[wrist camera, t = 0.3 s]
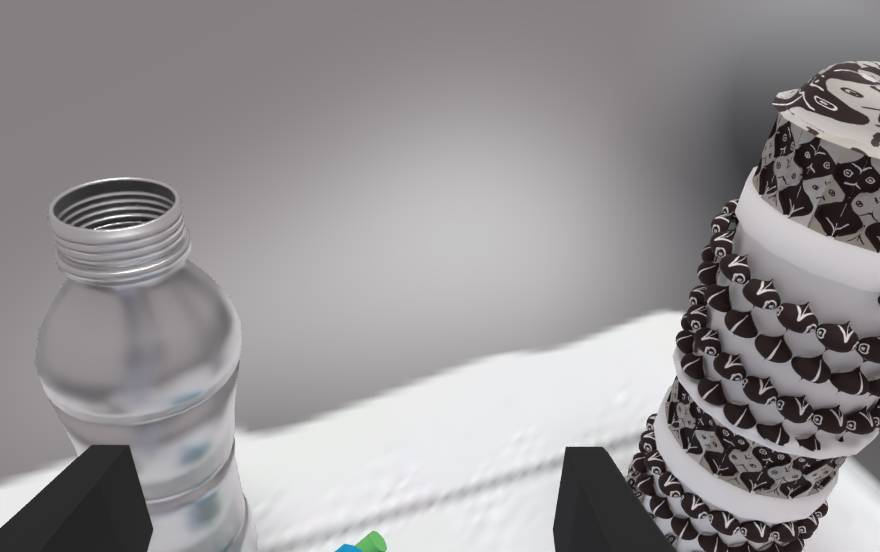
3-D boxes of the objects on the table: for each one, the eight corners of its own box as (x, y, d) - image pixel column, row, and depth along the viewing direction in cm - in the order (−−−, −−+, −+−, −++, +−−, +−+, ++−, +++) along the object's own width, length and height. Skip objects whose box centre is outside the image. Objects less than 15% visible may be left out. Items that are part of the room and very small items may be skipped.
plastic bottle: (86, 574, 31) (-40, 184, 20) (224, 503, 35) (181, 144, 24) (137, 692, 27) (16, 287, 16) (286, 597, 31) (269, 220, 20)
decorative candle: (775, 510, 38) (1029, 73, 25) (788, 664, 31) (1160, 163, 17) (616, 457, 41) (767, 29, 27) (592, 590, 33) (784, 92, 19)
